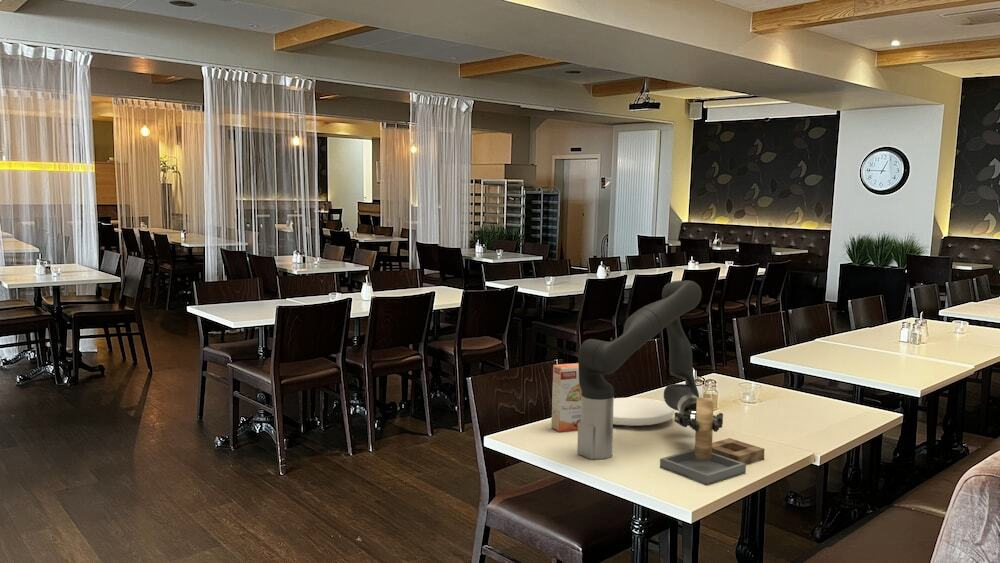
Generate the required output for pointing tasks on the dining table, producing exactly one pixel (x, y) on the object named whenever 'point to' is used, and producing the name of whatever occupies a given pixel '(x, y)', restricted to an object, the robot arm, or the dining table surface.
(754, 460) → the socket block
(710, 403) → the dowel
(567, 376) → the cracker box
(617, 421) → the plate
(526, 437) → the dining table surface
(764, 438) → the dining table surface
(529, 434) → the dining table surface
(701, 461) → the tray
